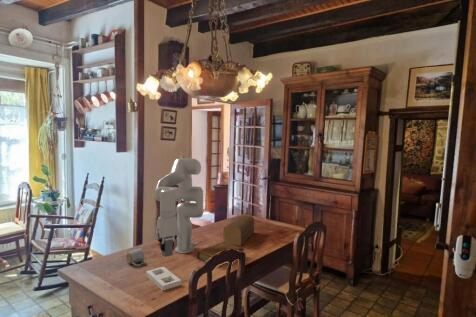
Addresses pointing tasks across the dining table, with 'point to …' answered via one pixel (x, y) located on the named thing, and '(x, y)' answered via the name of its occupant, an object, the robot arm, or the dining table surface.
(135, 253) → the ceramic mug
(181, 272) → the dining table surface
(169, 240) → the plug
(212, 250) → the diary
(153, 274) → the jack panel
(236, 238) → the bread
